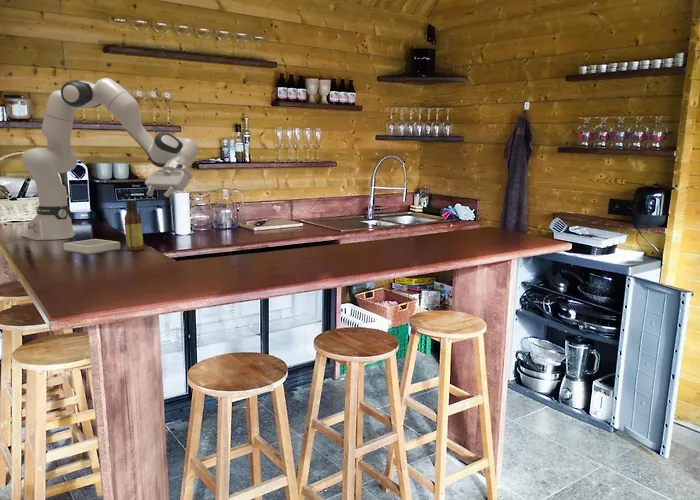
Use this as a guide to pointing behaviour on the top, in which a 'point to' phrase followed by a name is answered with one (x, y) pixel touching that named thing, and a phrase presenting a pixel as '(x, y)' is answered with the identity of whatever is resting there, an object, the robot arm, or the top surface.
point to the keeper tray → (91, 246)
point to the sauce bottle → (133, 227)
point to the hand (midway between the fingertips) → (157, 195)
